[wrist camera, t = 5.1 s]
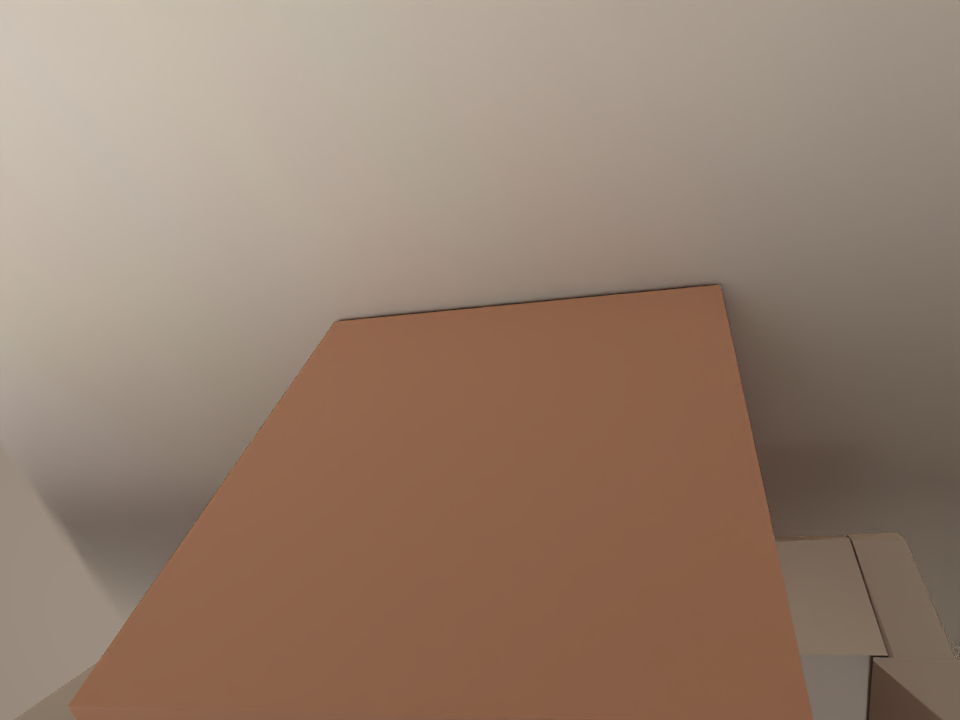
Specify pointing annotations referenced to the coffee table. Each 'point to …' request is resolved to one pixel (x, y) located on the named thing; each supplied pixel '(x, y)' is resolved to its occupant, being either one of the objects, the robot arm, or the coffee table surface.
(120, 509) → the coffee table surface
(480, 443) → the terracotta block
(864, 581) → the robot arm
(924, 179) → the coffee table surface
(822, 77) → the coffee table surface
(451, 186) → the coffee table surface
